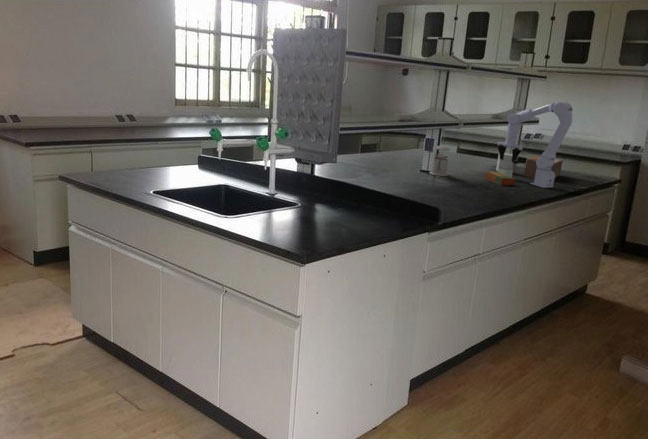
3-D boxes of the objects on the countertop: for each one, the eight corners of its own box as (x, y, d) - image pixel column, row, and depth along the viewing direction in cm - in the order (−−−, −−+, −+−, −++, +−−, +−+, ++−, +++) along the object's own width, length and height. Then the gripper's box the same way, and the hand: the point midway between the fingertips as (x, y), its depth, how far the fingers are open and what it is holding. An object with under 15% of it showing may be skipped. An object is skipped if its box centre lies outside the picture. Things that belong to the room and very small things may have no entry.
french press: (448, 173, 312) (455, 127, 305) (446, 177, 301) (454, 129, 295) (430, 171, 314) (437, 125, 308) (427, 174, 304) (435, 127, 297)
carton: (498, 179, 312) (499, 171, 311) (514, 186, 297) (516, 178, 296) (484, 178, 310) (486, 171, 309) (500, 185, 295) (501, 177, 294)
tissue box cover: (549, 181, 323) (553, 163, 320) (523, 176, 330) (527, 159, 327) (559, 176, 344) (562, 159, 341) (534, 171, 351) (538, 155, 348)
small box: (509, 171, 340) (512, 154, 337) (511, 173, 334) (514, 155, 332) (495, 170, 340) (498, 152, 337) (497, 171, 335) (500, 153, 332)
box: (511, 179, 315) (513, 168, 314) (504, 179, 313) (506, 168, 311) (504, 177, 320) (506, 166, 318) (497, 177, 317) (499, 166, 315)
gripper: (527, 138, 309) (522, 163, 312) (504, 133, 320) (500, 158, 323) (519, 138, 305) (515, 163, 308) (497, 133, 315) (492, 158, 319)
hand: (507, 160), depth 316 cm, fingers open, 7 cm apart
